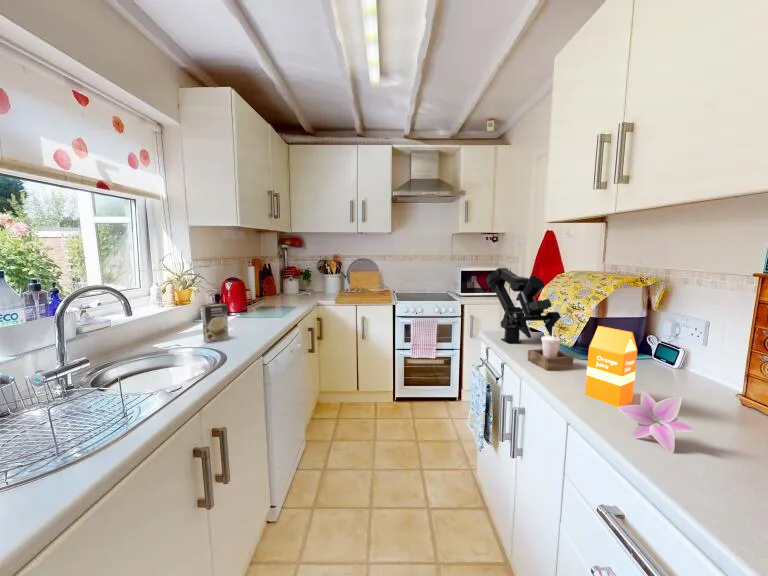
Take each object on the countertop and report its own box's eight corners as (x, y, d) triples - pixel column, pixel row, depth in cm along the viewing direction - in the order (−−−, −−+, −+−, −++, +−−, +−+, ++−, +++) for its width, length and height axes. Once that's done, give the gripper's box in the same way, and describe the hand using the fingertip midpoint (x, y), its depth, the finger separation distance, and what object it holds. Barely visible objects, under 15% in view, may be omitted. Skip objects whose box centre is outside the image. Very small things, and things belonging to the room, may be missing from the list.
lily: (609, 426, 80) (611, 401, 76) (648, 404, 82) (652, 378, 77) (659, 470, 70) (665, 444, 65) (703, 444, 72) (712, 417, 67)
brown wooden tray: (527, 360, 124) (528, 350, 124) (551, 358, 126) (552, 348, 126) (547, 370, 114) (547, 359, 113) (572, 368, 116) (573, 357, 116)
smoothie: (559, 368, 116) (561, 329, 114) (538, 365, 119) (541, 327, 117) (559, 362, 122) (562, 325, 120) (540, 360, 125) (542, 323, 123)
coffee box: (206, 343, 144) (204, 307, 142) (203, 340, 149) (201, 305, 147) (229, 339, 150) (227, 304, 148) (225, 336, 155) (223, 302, 153)
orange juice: (618, 407, 88) (625, 334, 85) (584, 394, 95) (590, 327, 93) (632, 400, 92) (639, 330, 89) (598, 389, 99) (604, 323, 97)
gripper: (513, 291, 127) (526, 327, 118) (559, 291, 129) (576, 326, 119) (503, 308, 136) (514, 341, 127) (546, 307, 138) (561, 340, 128)
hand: (541, 337), depth 125 cm, fingers open, 9 cm apart
